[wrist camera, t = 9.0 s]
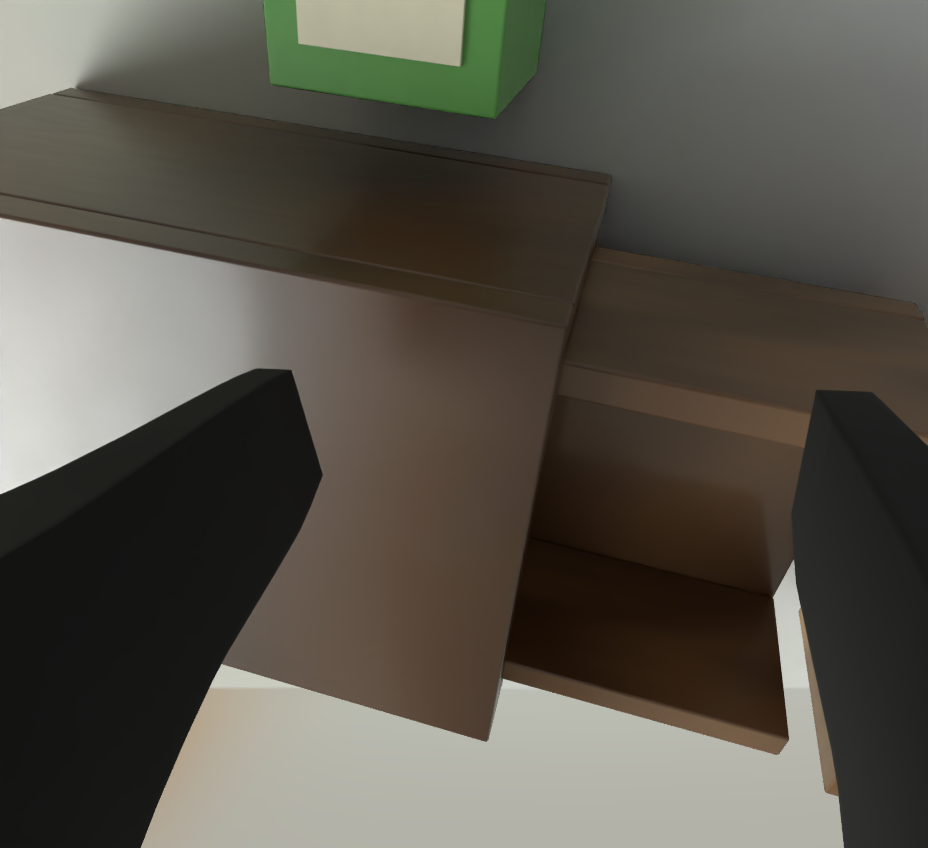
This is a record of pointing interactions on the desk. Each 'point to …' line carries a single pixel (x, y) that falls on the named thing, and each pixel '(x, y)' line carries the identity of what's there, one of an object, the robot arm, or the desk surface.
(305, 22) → the snack box
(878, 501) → the robot arm
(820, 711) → the drawer
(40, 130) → the cabinet
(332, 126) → the desk surface
